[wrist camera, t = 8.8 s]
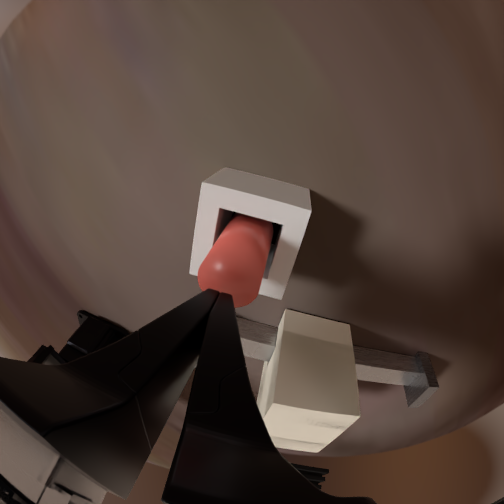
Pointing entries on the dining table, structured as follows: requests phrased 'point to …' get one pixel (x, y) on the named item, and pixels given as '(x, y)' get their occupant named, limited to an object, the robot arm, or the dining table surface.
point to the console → (257, 205)
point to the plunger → (238, 259)
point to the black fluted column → (312, 474)
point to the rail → (356, 362)
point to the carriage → (309, 383)
